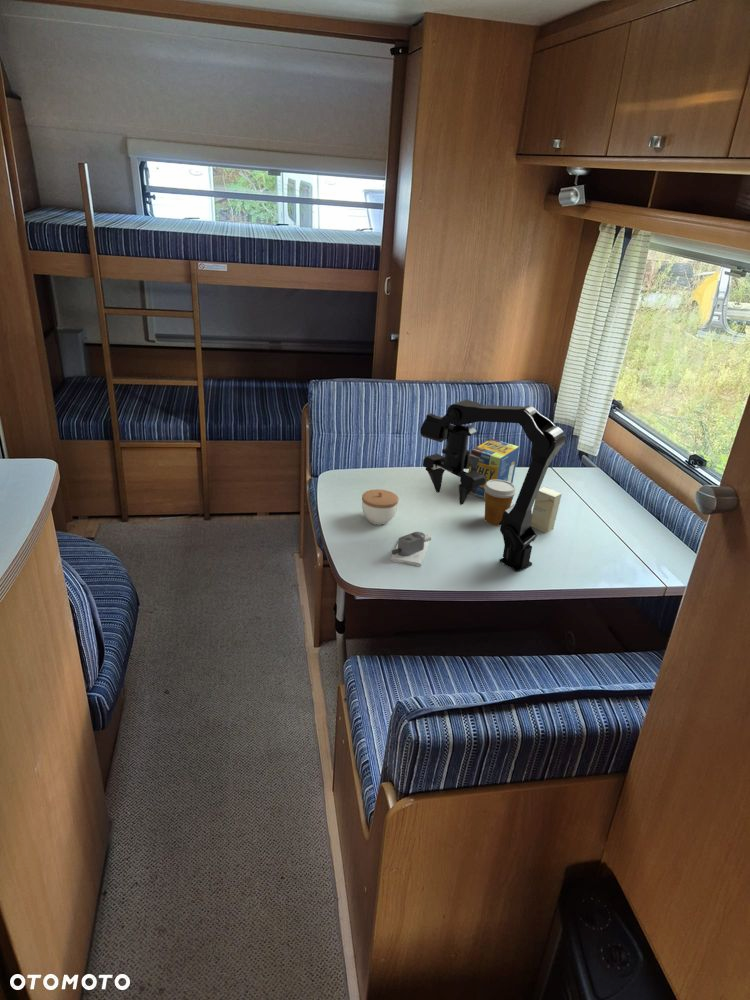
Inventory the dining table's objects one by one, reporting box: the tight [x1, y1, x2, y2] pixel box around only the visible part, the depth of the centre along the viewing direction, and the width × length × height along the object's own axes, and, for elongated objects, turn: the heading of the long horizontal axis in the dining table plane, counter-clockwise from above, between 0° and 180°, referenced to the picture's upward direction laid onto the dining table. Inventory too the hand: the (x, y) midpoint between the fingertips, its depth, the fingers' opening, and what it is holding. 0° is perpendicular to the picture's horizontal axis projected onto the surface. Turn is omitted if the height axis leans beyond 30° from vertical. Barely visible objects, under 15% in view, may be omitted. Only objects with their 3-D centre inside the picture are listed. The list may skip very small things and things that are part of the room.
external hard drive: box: [390, 541, 430, 567], centre depth 179 cm, size 2×8×12 cm
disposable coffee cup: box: [484, 479, 517, 526], centre depth 197 cm, size 10×10×12 cm
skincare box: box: [531, 486, 563, 533], centre depth 195 cm, size 6×4×12 cm
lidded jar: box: [361, 488, 399, 526], centre depth 193 cm, size 11×11×9 cm
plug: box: [391, 531, 432, 556], centre depth 177 cm, size 13×4×4 cm, turn 131°
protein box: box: [467, 438, 520, 500], centre depth 217 cm, size 10×15×16 cm
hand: (449, 498), depth 184 cm, fingers open, 9 cm apart
